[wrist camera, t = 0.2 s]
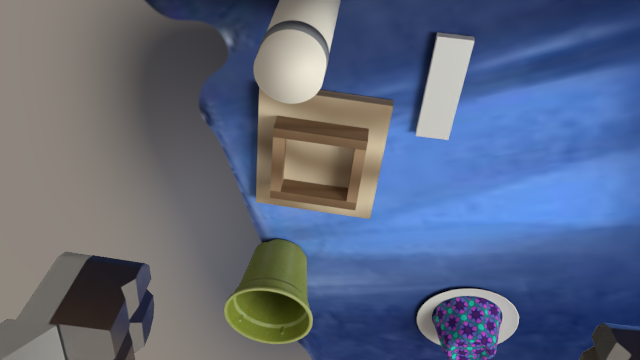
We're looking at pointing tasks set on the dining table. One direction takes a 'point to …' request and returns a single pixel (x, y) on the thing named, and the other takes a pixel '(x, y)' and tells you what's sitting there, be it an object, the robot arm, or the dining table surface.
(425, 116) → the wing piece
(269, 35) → the grooved cream capsule
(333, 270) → the dining table surface
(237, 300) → the plant pot
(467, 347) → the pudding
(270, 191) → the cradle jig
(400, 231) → the dining table surface
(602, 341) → the robot arm
